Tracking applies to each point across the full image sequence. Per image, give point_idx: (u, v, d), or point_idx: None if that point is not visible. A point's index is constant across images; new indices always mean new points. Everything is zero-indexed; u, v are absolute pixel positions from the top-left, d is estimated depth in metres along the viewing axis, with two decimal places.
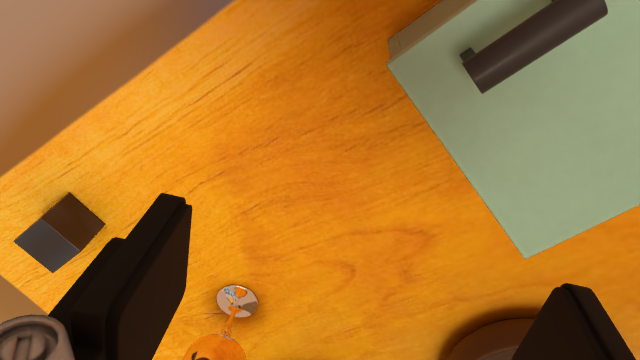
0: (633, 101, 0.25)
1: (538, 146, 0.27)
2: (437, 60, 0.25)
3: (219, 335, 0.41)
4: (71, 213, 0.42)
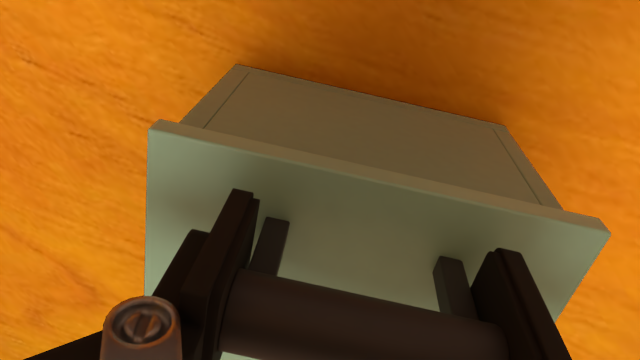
0: None
1: None
2: None
3: None
4: None
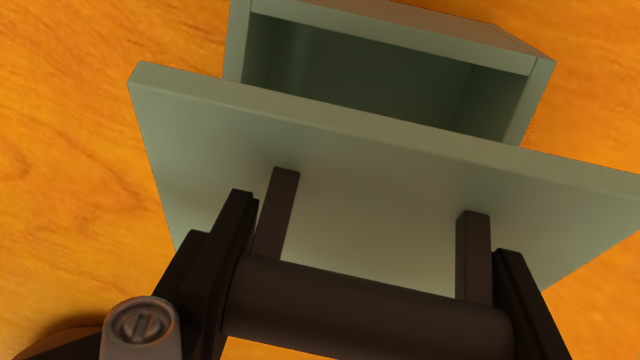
0: None
1: None
2: (232, 145, 0.11)
3: None
4: None
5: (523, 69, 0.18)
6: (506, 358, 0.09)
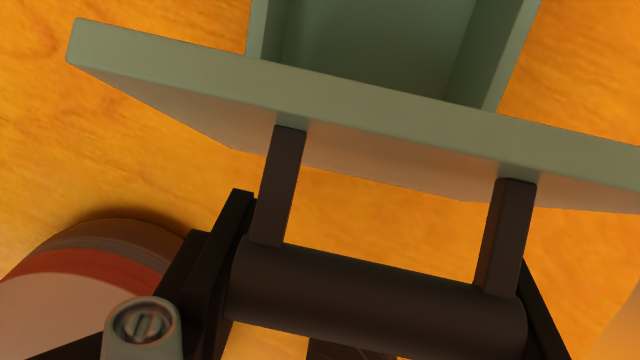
0: (448, 189, 0.18)
1: (314, 157, 0.17)
2: (219, 108, 0.09)
3: None
4: None
5: None
6: None
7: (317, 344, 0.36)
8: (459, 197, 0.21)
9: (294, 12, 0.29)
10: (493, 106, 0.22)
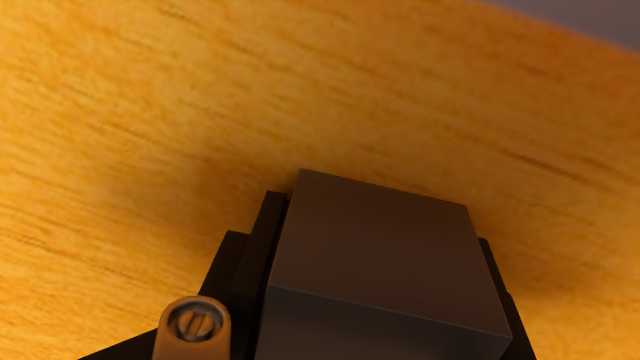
0: None
1: None
2: None
3: None
4: None
5: None
6: None
7: None
8: None
9: None
10: None
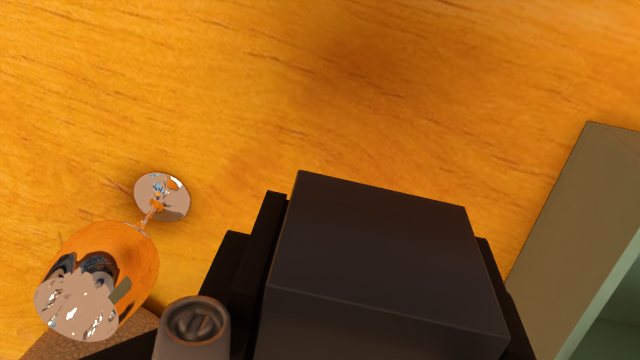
0: None
1: None
2: None
3: (147, 236, 0.28)
4: None
5: None
6: None
7: None
8: None
9: None
10: None
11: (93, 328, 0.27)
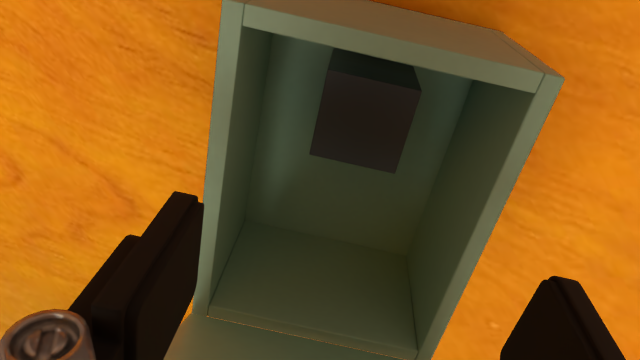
0: None
1: None
2: None
3: None
4: None
5: (529, 86, 0.17)
6: None
7: None
8: None
9: (260, 157, 0.28)
10: (455, 297, 0.22)
11: None
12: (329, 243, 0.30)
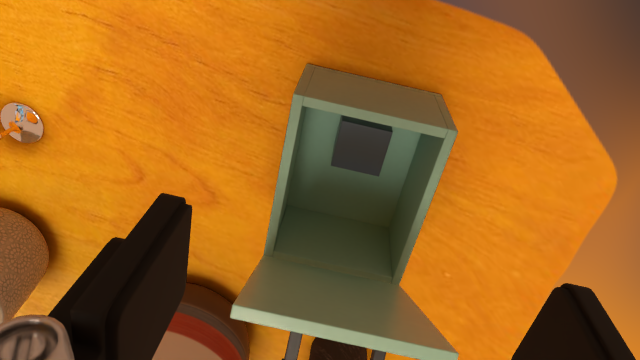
0: None
1: None
2: None
3: None
4: None
5: (441, 135, 0.34)
6: None
7: None
8: None
9: (298, 166, 0.46)
10: (411, 244, 0.39)
11: None
12: (340, 219, 0.48)
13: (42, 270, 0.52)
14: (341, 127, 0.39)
